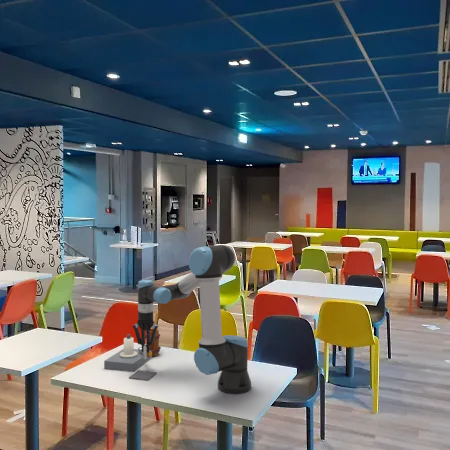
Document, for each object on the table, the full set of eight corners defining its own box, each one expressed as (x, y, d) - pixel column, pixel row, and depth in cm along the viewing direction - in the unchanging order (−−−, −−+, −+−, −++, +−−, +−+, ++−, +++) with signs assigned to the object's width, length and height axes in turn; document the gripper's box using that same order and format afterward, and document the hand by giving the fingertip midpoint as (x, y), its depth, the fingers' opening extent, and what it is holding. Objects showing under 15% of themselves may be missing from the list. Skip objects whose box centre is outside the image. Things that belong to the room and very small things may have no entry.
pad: (148, 380, 223) (148, 379, 223) (128, 378, 225) (128, 377, 225) (156, 373, 232) (156, 372, 232) (137, 371, 235) (137, 370, 235)
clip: (153, 358, 238) (153, 352, 237) (147, 359, 236) (147, 352, 236) (142, 349, 254) (142, 342, 253) (137, 349, 252) (137, 343, 252)
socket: (133, 371, 235) (133, 361, 234) (104, 368, 239) (104, 358, 239) (151, 357, 256) (151, 348, 256) (124, 355, 260) (124, 346, 260)
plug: (132, 366, 242) (132, 337, 241) (116, 365, 244) (116, 336, 243) (140, 361, 250) (140, 333, 250) (124, 359, 253) (124, 331, 252)
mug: (158, 358, 256) (158, 330, 255) (143, 357, 256) (143, 330, 255) (162, 349, 270) (162, 323, 270) (148, 349, 271) (148, 323, 270)
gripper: (130, 312, 233) (130, 360, 234) (156, 313, 231) (156, 361, 233) (135, 309, 241) (135, 355, 242) (160, 310, 239) (160, 356, 240)
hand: (145, 358), depth 237 cm, fingers closed
